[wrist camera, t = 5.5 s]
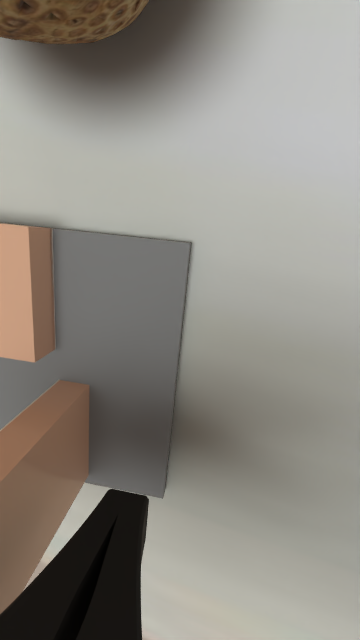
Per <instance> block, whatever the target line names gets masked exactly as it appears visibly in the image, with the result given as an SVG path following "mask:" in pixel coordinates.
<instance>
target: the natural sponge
mask: <svg viewBox="0 0 360 640" xmlns="http://www.w3.org/2000/svg"><path fill="white" fill-rule="evenodd" d="M148 2H149V0H0V37H3V38H9V39H14V40H25V41H31V42H39V43H45V44H74V43H90V42H95V41H98V40H101V39H104V38H107V37H109V36H111V35H114V34H116V33H117V32H119V31H120V30H122V29H124V28H125V27H127V26H129V25H130V24H131V23H132V22H133V21H134V20H135V19H136V18H137V17H138V16H139V14H140V13H141V12H142V10H143V9H144V7H145V6H146V5H147V3H148Z"/></svg>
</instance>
